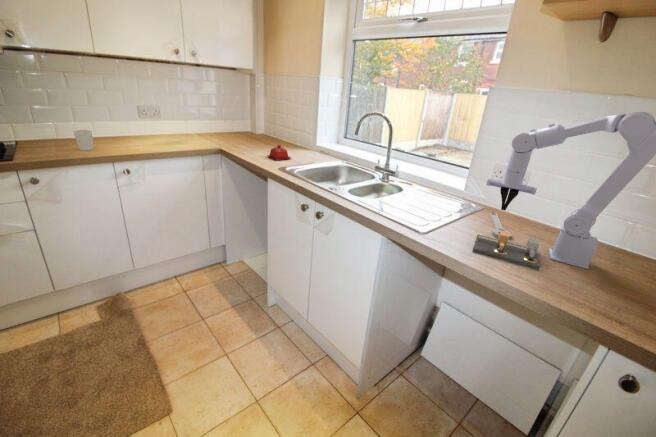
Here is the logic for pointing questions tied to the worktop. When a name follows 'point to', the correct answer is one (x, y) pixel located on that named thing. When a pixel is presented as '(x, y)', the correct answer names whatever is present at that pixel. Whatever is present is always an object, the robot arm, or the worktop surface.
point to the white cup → (84, 139)
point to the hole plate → (510, 251)
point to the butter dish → (279, 153)
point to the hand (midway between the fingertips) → (503, 209)
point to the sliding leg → (503, 239)
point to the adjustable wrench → (497, 225)
